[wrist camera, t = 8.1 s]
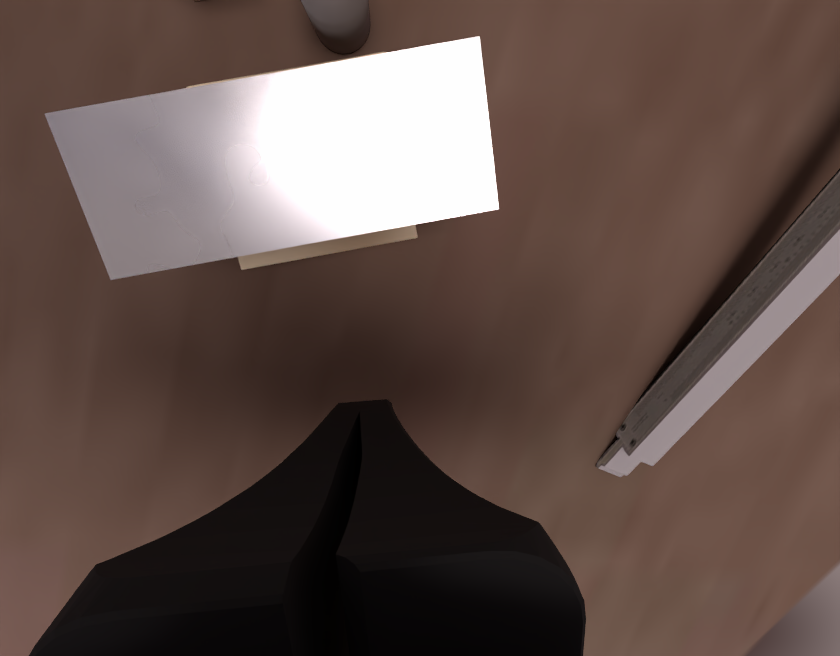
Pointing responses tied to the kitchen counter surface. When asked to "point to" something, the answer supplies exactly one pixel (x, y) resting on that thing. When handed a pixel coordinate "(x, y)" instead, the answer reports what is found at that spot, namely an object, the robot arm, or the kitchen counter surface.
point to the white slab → (282, 158)
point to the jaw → (340, 23)
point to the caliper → (734, 335)
